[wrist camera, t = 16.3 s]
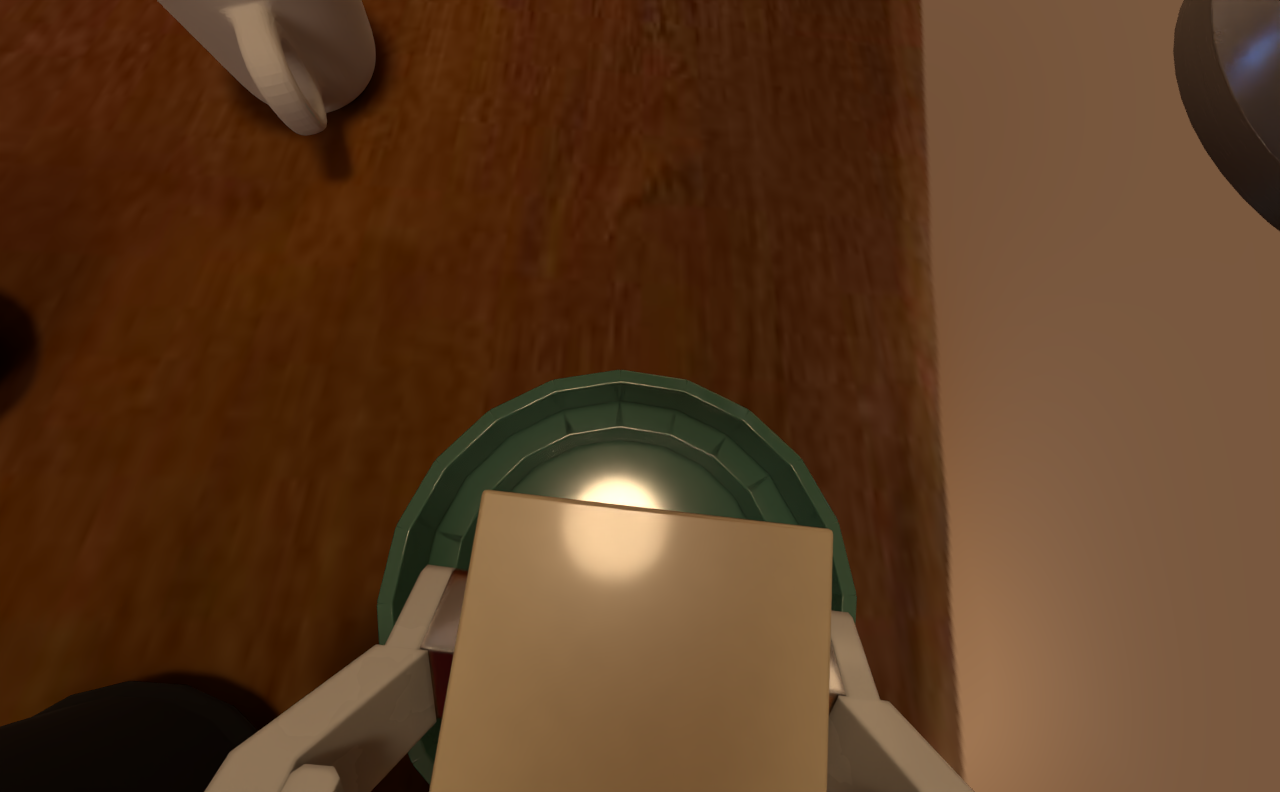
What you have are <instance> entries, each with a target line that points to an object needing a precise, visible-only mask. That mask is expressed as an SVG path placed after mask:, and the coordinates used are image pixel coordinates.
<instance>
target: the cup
mask: <svg viewBox="0 0 1280 792" xmlns="http://www.w3.org/2000/svg"><path fill="white" fill-rule="evenodd" d="M157 1H158V2H159V3H160V4H161V5H162V6H163V7H164V8H165V9H166V10H167V11H168V12H169V13H170V14H171V15H172V16H173V17H174V18H175V19H176V20H177V21H178V22H179V23H180V24H181V25H182V26H183V27H184V28H185V29H186V30H187V31H188V32H189V33H190V34H191V35H192V36H193V37H194V38H195V39H196V40H197V41H198V42H199V43H200V44H201V45H202V46H203V47H204V48H205V49H206V50H207V51H208V52H209V53H210V54H211V55H212V56H213V57H214V58H215V59H216V60H217V61H219V62H220V63H221V64H222V65H223V66H224V67H225V68H226V69H227V70H228V71H229V72H230V73H231V74H232V75H233V76H234V77H235V78H236V79H237V80H238V81H239V82H240V83H241V84H242V85H243V86H244V87H245V88H246V89H247V90H248V91H250V92H251V93H252V94H253V95H255V96H256V97H257V98H258V99H260V100H261V101H263V102H264V103H266V104H268V105H269V106H270V107H271V108H272V110H273V111H274V112H275V113H276V114H277V116H278V117H279V118H280V119H281V120H282V121H283V122H284V123H285V124H286V125H287V126H288V127H289V128H290V129H291V130H293V131H294V132H296V133H297V134H300V135H305V136H306V135H312V134H316V133H319V132H322V131H323V130H324V129H325V128H326V126H327V117H326V113H328V112H332V111H335V110H337V109H340V108H342V107H344V106H346V105H347V104H349V103H350V102H352V101H353V100H354V99H356V98H357V97H358V96H359V95H360V94H361V93H362V92H363V91H364V89H365V88H366V86H367V85H368V83H369V82H370V80H371V77H372V75H373V72H374V68H375V61H376V50H375V42H374V38H373V34H372V30H371V27H370V24H369V20H368V18H367V15H366V12H365V9H364V6H363V3H362V0H157Z"/></svg>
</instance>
